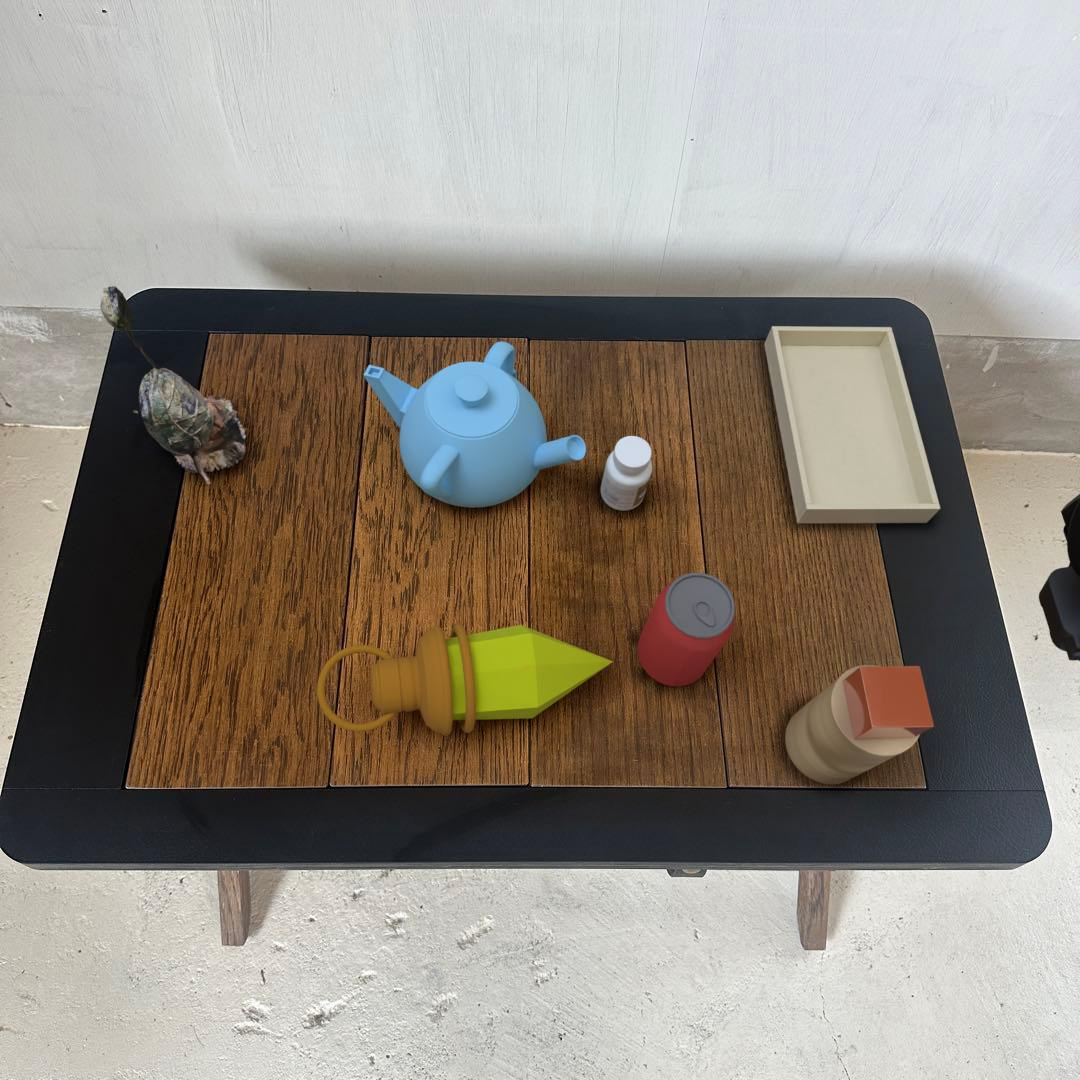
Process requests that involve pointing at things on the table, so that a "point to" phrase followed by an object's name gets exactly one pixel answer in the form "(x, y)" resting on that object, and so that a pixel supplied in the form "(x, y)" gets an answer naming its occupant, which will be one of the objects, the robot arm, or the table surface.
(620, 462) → the pill bottle
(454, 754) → the table surface
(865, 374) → the beige tray
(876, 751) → the pedestal
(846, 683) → the clay block
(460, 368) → the teapot
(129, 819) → the table surface
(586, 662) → the plumb bob
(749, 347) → the table surface
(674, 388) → the table surface
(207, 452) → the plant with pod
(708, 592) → the beer can
